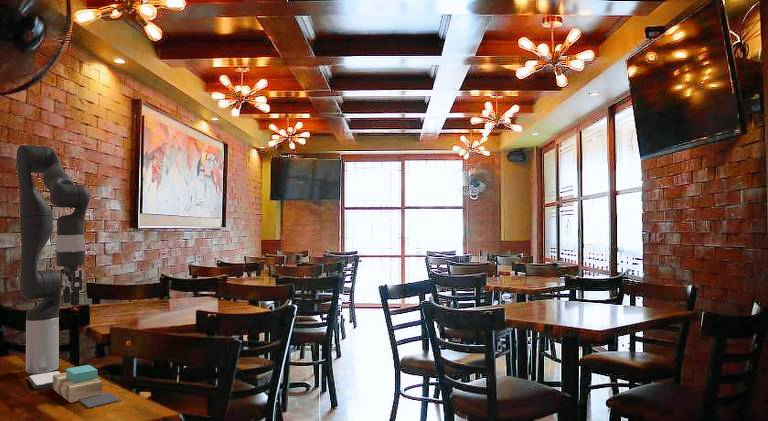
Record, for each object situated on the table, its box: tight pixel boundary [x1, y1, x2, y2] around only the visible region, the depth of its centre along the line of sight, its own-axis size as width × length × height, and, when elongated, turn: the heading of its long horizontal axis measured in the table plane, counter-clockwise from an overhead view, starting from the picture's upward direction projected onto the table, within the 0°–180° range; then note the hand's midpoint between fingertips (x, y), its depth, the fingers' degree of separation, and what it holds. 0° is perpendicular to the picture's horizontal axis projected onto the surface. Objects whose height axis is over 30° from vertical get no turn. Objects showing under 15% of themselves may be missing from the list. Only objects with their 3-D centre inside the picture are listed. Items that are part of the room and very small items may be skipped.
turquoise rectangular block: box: [65, 364, 99, 383], centre depth 153 cm, size 8×6×2 cm
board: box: [52, 372, 103, 404], centre depth 153 cm, size 18×8×4 cm, turn 45°
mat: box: [77, 392, 122, 409], centre depth 145 cm, size 9×8×1 cm
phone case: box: [27, 370, 61, 391], centre depth 164 cm, size 9×2×16 cm
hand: (71, 304), depth 160 cm, fingers open, 8 cm apart
